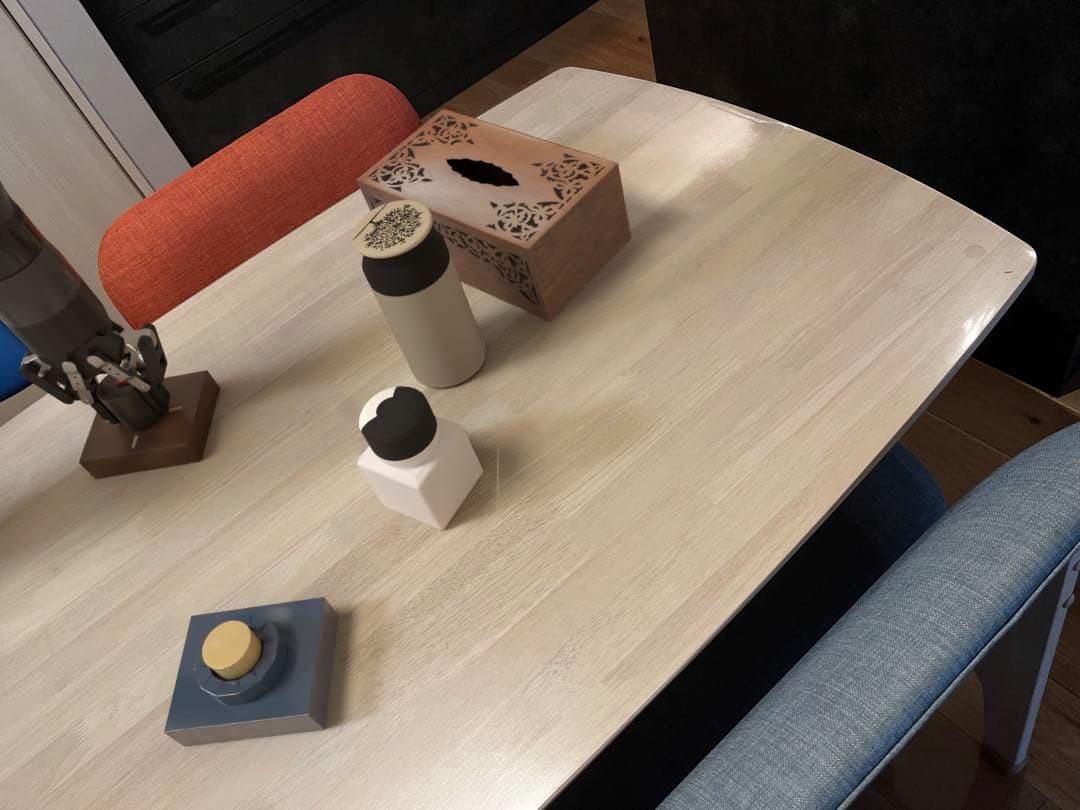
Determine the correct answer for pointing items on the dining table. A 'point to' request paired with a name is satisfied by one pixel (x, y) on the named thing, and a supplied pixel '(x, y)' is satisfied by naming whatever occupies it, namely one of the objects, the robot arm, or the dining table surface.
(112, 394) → the dial
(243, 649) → the tan button cap
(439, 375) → the travel mug
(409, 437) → the medicine bottle
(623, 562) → the dining table surface
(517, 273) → the tissue box cover
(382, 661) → the dining table surface
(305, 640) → the button housing
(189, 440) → the dial panel
